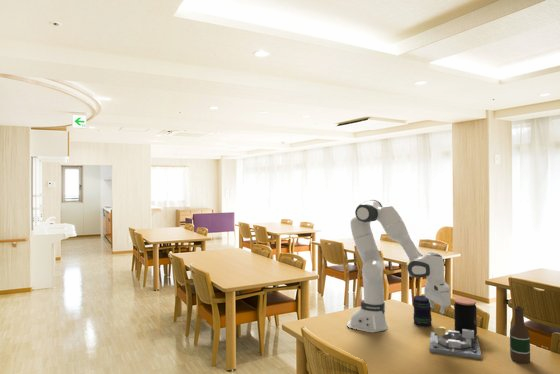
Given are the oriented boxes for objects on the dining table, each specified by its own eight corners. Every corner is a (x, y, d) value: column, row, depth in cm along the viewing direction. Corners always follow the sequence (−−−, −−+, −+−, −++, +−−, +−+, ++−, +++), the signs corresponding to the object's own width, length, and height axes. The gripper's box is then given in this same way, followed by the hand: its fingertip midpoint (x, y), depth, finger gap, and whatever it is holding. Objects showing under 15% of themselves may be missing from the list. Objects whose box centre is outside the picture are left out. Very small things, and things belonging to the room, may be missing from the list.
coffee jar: (479, 338, 200) (478, 303, 200) (457, 337, 202) (456, 303, 202) (473, 331, 210) (472, 298, 210) (452, 330, 212) (451, 297, 212)
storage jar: (432, 327, 216) (431, 301, 216) (413, 326, 220) (413, 299, 220) (431, 321, 226) (430, 296, 226) (413, 320, 229) (412, 295, 229)
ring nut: (434, 345, 187) (434, 331, 187) (435, 334, 201) (435, 321, 201) (475, 350, 180) (474, 336, 180) (473, 338, 194) (472, 325, 194)
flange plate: (429, 352, 185) (429, 340, 185) (431, 335, 205) (430, 324, 205) (481, 359, 176) (481, 346, 176) (477, 341, 197) (477, 329, 197)
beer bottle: (506, 356, 178) (505, 304, 178) (522, 355, 179) (520, 304, 179) (518, 364, 170) (516, 310, 170) (534, 363, 171) (533, 309, 171)
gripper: (420, 280, 212) (422, 305, 212) (440, 289, 192) (442, 317, 192) (431, 279, 213) (432, 304, 213) (452, 288, 193) (453, 316, 192)
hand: (437, 310), depth 202 cm, fingers open, 8 cm apart
